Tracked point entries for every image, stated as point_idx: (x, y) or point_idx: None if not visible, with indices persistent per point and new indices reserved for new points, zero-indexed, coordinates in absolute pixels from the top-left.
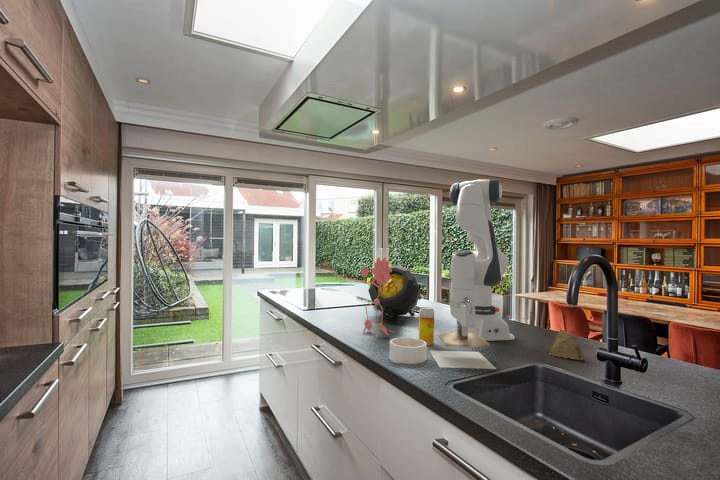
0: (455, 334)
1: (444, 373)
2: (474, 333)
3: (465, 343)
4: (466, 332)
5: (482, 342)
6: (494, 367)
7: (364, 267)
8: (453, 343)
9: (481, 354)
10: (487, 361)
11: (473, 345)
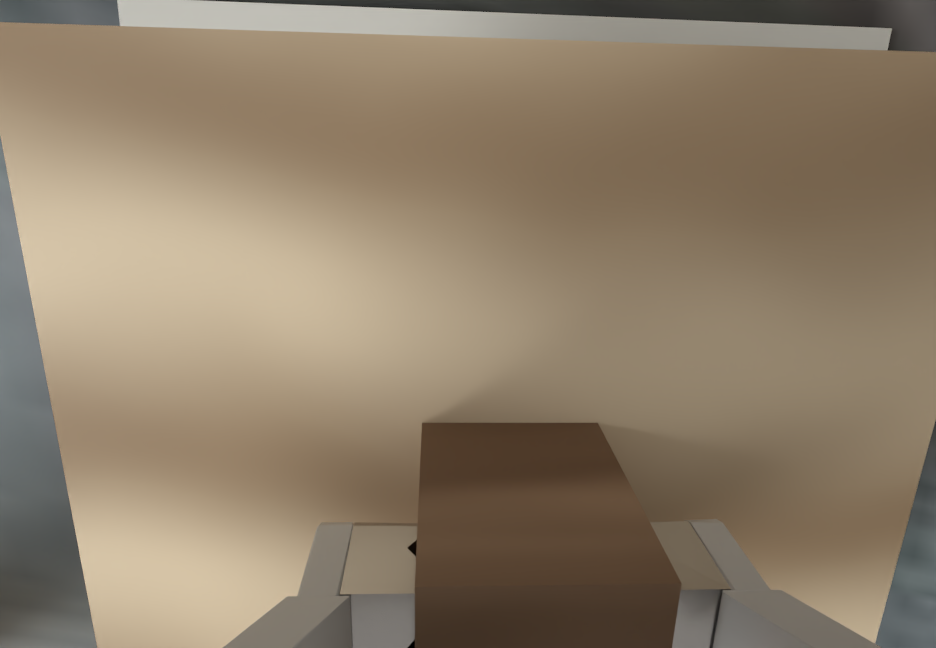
0: (205, 552)
1: (883, 616)
2: (34, 95)
3: (843, 526)
4: (750, 578)
5: (843, 178)
6: (842, 37)
7: None
8: None
9: (260, 3)
10: (592, 38)
11: (924, 401)
